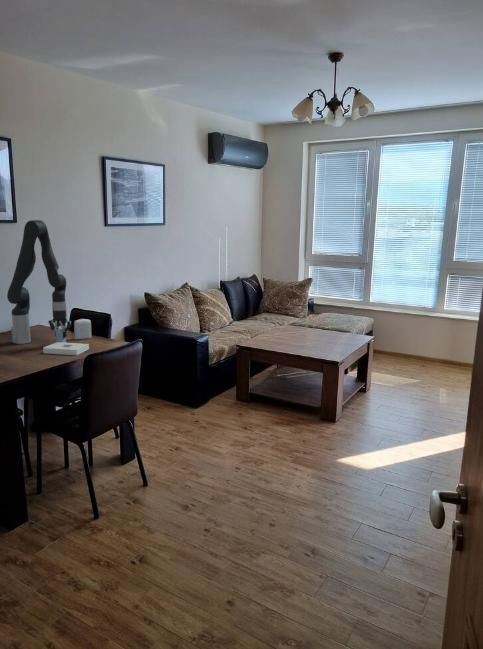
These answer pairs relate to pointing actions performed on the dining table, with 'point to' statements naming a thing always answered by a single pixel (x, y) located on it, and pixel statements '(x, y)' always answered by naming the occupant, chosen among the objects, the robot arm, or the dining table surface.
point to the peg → (60, 336)
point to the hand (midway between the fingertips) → (60, 337)
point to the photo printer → (82, 329)
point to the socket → (66, 348)
